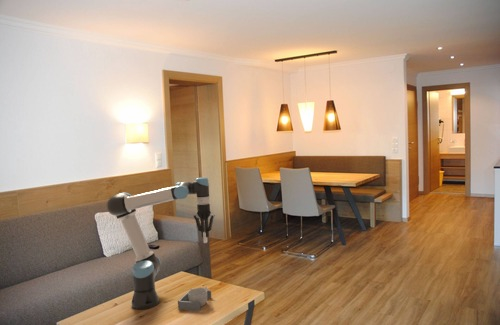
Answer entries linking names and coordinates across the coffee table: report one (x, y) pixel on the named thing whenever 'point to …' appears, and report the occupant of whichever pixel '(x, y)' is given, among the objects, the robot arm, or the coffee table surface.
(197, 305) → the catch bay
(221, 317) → the coffee table surface
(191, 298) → the teacup
